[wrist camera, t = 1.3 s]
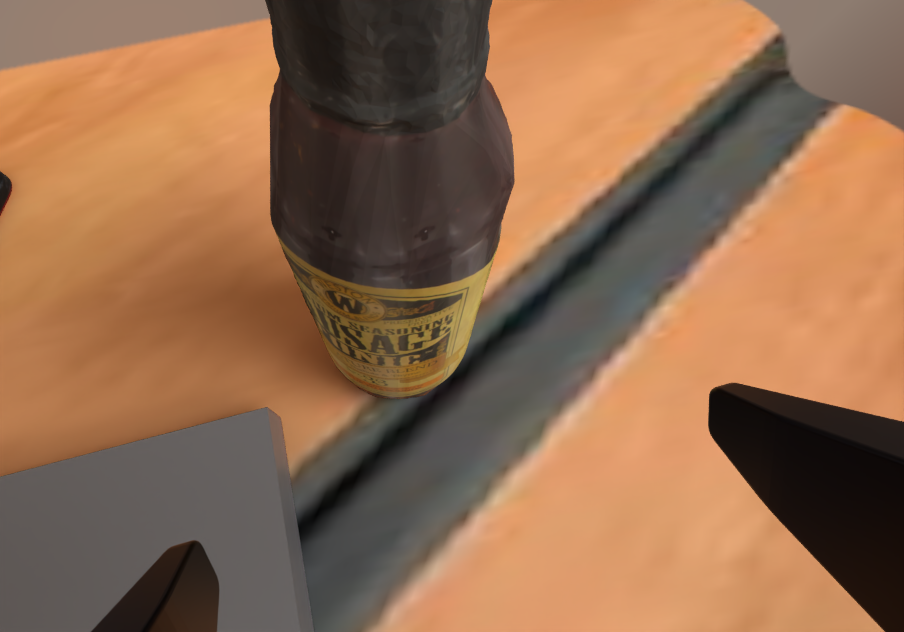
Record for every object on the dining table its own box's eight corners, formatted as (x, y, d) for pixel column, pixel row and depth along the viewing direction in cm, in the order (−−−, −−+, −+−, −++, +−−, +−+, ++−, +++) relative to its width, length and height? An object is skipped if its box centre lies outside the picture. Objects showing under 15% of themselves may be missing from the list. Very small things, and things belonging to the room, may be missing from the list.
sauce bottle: (309, 378, 23) (-159, -241, 5) (367, 264, 25) (205, -436, 7) (446, 430, 22) (519, -58, 4) (491, 308, 25) (667, -341, 6)
